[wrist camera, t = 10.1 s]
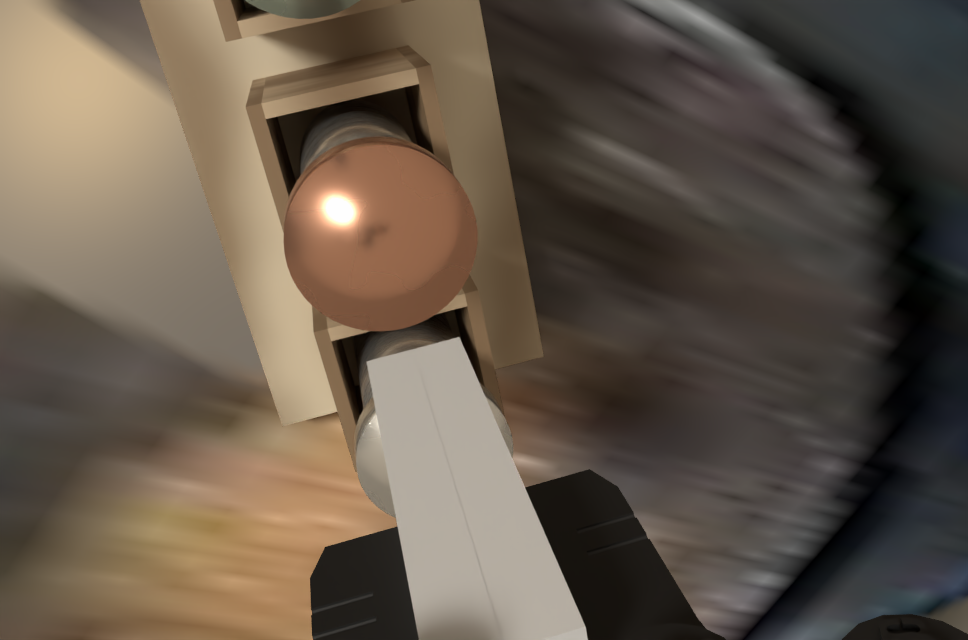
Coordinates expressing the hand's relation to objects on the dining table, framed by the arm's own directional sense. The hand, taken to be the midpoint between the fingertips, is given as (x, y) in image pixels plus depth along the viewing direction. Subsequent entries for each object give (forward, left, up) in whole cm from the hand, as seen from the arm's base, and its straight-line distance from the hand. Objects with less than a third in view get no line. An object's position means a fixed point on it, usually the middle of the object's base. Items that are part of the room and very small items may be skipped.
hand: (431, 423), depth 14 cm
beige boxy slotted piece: (0, 0, -24) cm, 24 cm away
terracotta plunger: (0, 0, -20) cm, 20 cm away
